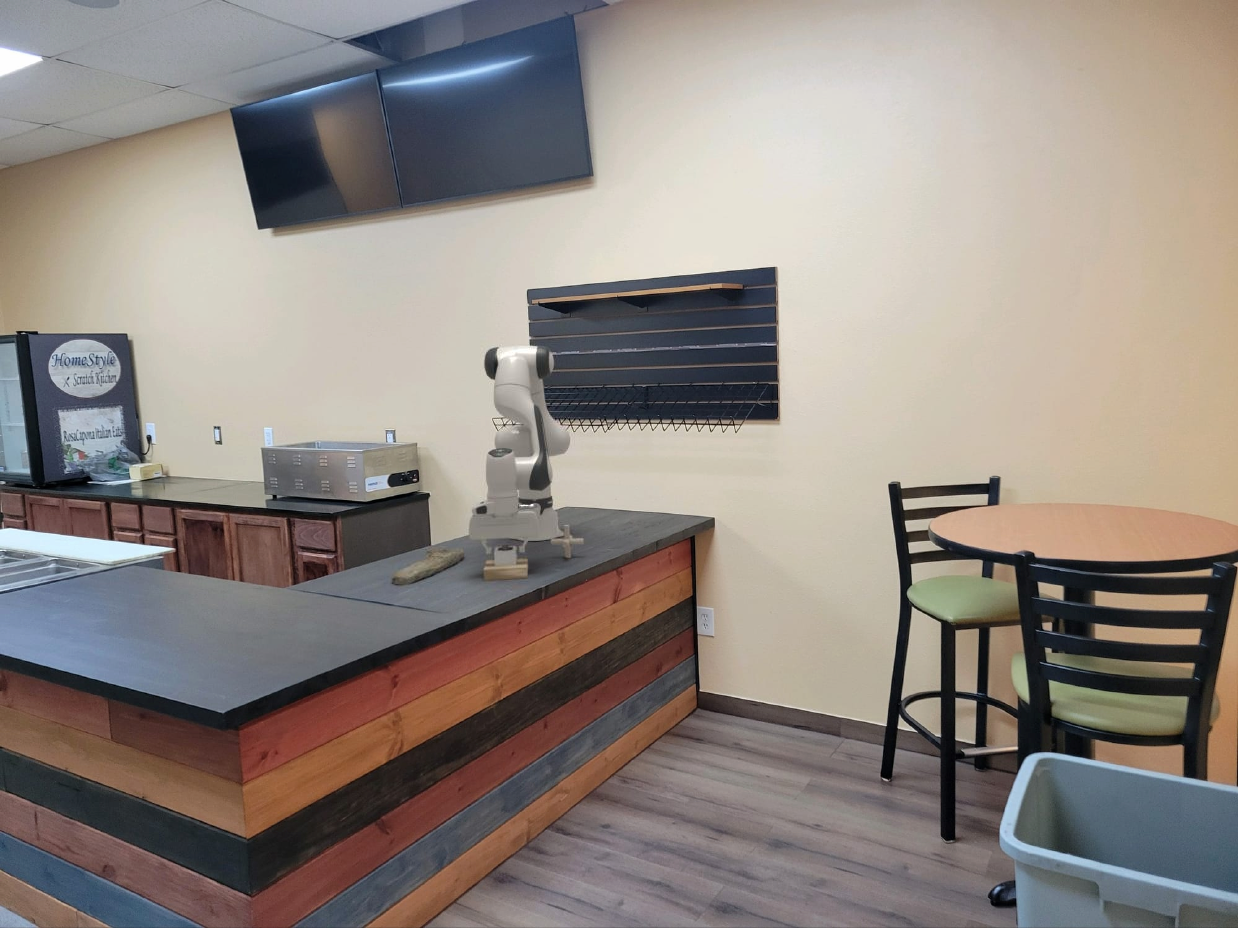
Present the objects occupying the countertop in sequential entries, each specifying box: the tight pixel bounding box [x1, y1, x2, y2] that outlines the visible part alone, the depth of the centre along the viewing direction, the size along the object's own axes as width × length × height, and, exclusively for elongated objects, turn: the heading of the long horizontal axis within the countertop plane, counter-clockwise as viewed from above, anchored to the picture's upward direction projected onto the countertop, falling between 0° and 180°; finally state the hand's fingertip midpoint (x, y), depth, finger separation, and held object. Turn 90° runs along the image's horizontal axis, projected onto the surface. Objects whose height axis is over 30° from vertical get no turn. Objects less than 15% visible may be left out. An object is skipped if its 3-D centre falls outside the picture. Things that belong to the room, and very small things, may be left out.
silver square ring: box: [493, 545, 518, 567], centre depth 245 cm, size 6×6×4 cm
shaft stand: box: [483, 543, 529, 581], centre depth 245 cm, size 12×12×8 cm
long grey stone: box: [391, 546, 465, 586], centre depth 254 cm, size 35×5×10 cm
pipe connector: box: [550, 524, 585, 559], centre depth 263 cm, size 10×10×10 cm
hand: (505, 553), depth 245 cm, fingers open, 8 cm apart
